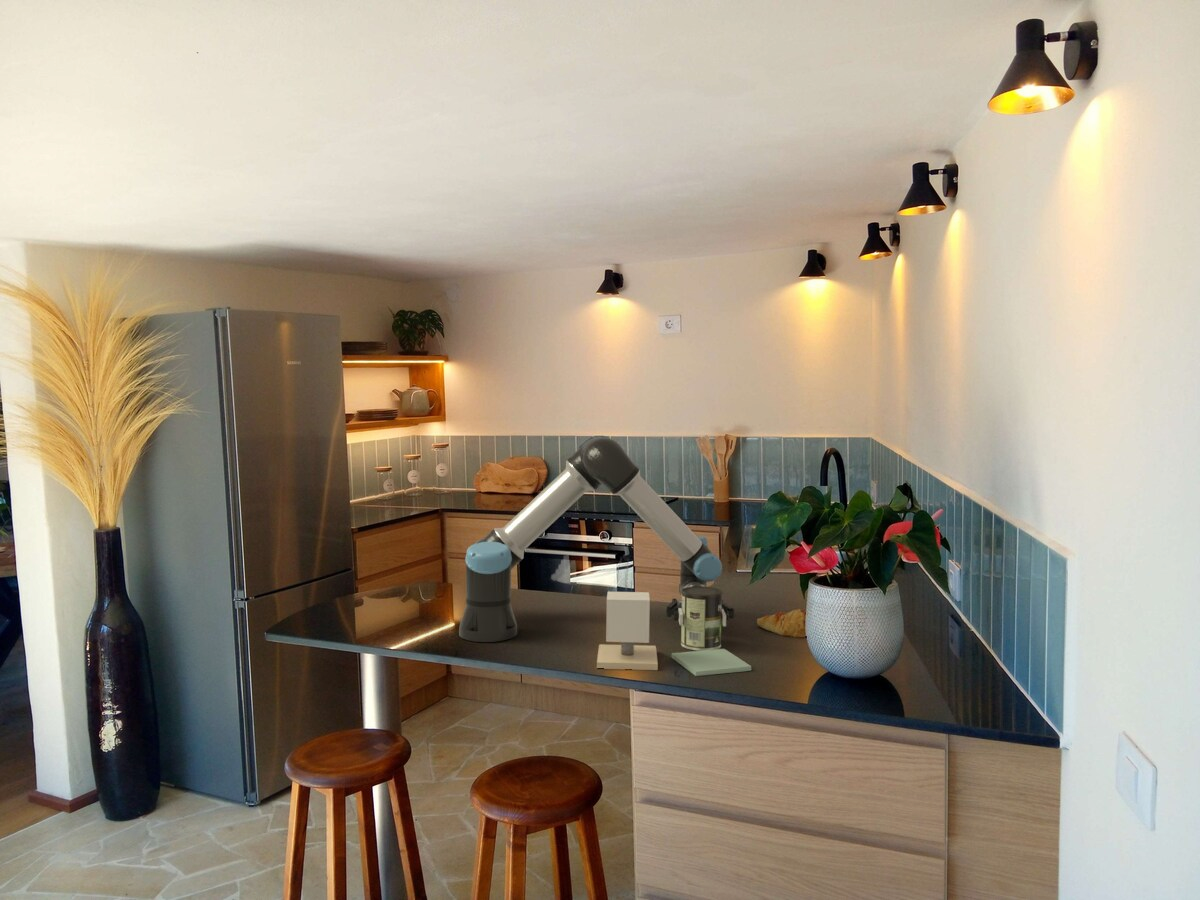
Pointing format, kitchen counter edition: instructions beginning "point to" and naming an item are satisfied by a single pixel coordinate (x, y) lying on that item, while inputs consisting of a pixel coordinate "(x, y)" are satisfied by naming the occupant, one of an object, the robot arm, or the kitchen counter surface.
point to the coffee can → (701, 618)
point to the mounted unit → (627, 633)
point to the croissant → (785, 623)
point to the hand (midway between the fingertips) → (702, 620)
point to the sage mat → (710, 662)
